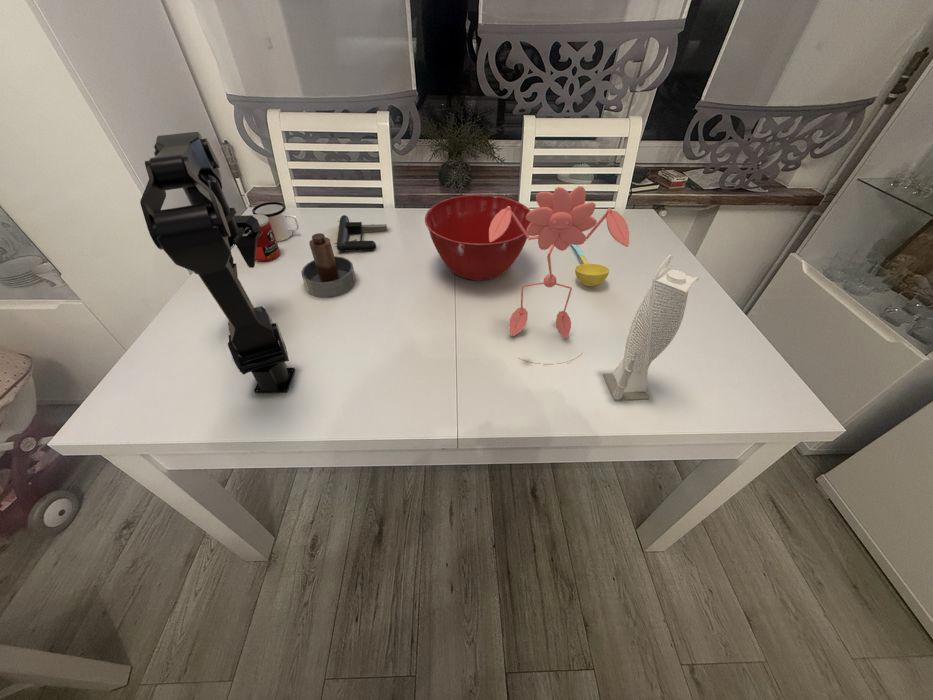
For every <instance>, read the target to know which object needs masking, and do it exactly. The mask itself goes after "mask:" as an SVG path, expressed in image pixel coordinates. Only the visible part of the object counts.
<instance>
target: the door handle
mask: <svg viewBox="0 0 933 700" xmlns="http://www.w3.org/2000/svg"><path fill="white" fill-rule="evenodd" d="M338 222H339V224H338V231H337V240H336V243H335V242H334V243H333V244H336V246H335V245H334V246H333V247H336V250H337V251H338V252H339V253H340V252H341V253H344V252H349V251H350V252H353V251H354V252H355V251H374V250H375V249H376V248H377V244H376V242H375V240H363V233H374V232H375V233H377V232H379V233H380V232H381V233H382V232H388V225H387V224H385V223H383V224H382V223H380V224H363V223H362V221H350V218H349V216H348V215H346V214H343V215H341V216H340V218H339V221H338ZM349 235H359V237H360V239H359V240H357V239H356V238H355V239H352V240H349Z"/></svg>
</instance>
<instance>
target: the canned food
mask: <svg viewBox="0 0 933 700" xmlns="http://www.w3.org/2000/svg"><path fill="white" fill-rule="evenodd" d="M251 215H252V216H253V217H254V218H256V219H257V220H258V222H259V225H260V229H259V230H258V231H259V235H258V240H257V248H256V257H255V262H256V261H257V262H261V263H265V262H271V261H274V260H277V258H278V257H279V256H280V255H281V250H280V247H279V245H278V242H277V241H276V238H275V235H274V233H273V230H272V227H271V224H270V222H269V219H268V217H267V216H265V215H260V214H251Z"/></svg>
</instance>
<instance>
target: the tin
mask: <svg viewBox="0 0 933 700" xmlns="http://www.w3.org/2000/svg"><path fill="white" fill-rule="evenodd" d="M334 258H335V261H336V265H337V269H338V273H339V277H340V279H337V280H335V281H330V282H321V281H320V278H319V275H318V271H317V268H316V265H315V261H314V259H313V260H311V261H309V262H308V263H306V264H305V265H304V266H303V267H302V269H301V278H302V281H303V283H304V287H305V289H306V292H307V293H309V295H312V296H313V297H316V298H322V299H330V298H336V297H340V296H342V295H345V294H347V293H349V292H350V291H351V290H352V289H353V288H354V287H355V285H356V283H357V278H356V272H355V268H354V264H353V262H352V261H351V260H350V259H349V258H346V257H343V256H337V255H334Z"/></svg>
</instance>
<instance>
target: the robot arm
mask: <svg viewBox="0 0 933 700" xmlns="http://www.w3.org/2000/svg"><path fill="white" fill-rule="evenodd" d="M153 155H154V157H150V158H149V159H148V160H144V166H145V169H146V173H147V176H148V181H147V183H146V186H145V188H144V191H143V193H142V195H141V198H140V201H139V202H140V203H139V204H140V207H141V211H142V214H143V218H144V220H145V224H146V227H147V230H148V233H149V236H150V239H151V240H152V242H153V243H154V245H155V246H156V248H157V249H159V250H160V251H164V253H166V255H167V256H168V257H169V259H170V260H171V261H172V262H173V263H174V264H175V265H176V266H178V267H181V268H183V269H186V270H189V271H191V272H193V274H195V275H198V277H199V278H200V279H201V281H202V282H203V284H204V285H205V287H206V289H207V290H208V292H209V294H210V295H211V296H212V298H213V299H214V301H215V302H216V303H217V305H218V306H219V308H220V310H221V312H222V313H223V314H224V315H225V318H226V319H227V321H228V322H227V327H228V331H229V334H228V342H227V346H228V350H229V351H230V354H231V357H232V360H233V362H234V364H235V366H236V368H237V370H238V371H239V372H240V373H241V374H242V375H246V374H248V373H251V375H252V376H253V379H254V380H255V381H256V384H255V387H254V390H253V391H254V392H253V393H254V394H285V393H288V391H289V389H290V386H291V383H292V381H293V379H294V376H295V374H296V368H295V367H288V366H287V364H286V362H290V359H289V358H290V357H289V353H288V349H287V346H286V343H285V341H284V337H283V335H282V332H281V330H280V327H279V325H278V323H277V322H273V320H272V318H271V316H270V315H269V313H268V311H267V310H266V308H265V307H264V306H261V305H259V306H256V307H255V306H254V305H253V303H252V301H251V299H250V297H249V296H248V294H247V292H246V290H245V288H244V287H243V284H242V283H241V281H240V279H239V277H238V267H237V263H234V257H233V255H232V249H233V248H234V247H235V246H236V248H237V250H238V251H239V253H240V255H241V257H242V258H243V260H244V262H245V263H246V265H247V267H248V268H250V269H253V268H255V265H256V260H255V257H256V248H257V240H258V235H259V231H258V230H259V229H260V225H259V222H258V220H257V219H256V218H254V217H253V216H252V215H253V214H249V215H248V214H247V215H236V214H237V210H236V208H235V207H230V205H229V204H228V201H227V199H226V196H225V194H224V192H223V182H222V174H221V171H220V167H221V165H220V162H219V160H218V158H217V156H216V154H215V152H214V150H213V148H212V146H211V144H210V142H209V141H208V138H203V137H202V134H201V133H200V132H199V131H190V132H181V133H172V134H171V133H170V134H163V135H157V136H156V139H155V143H154V153H153ZM177 189H183V191H184V193H185V195H186V197H187V199H188V202H189V204H190V205H185V206H178V207H173V208H166V209H162V208H163V205H164V202H165V200H166V197H167V192H166V191H173V190H177Z"/></svg>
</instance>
